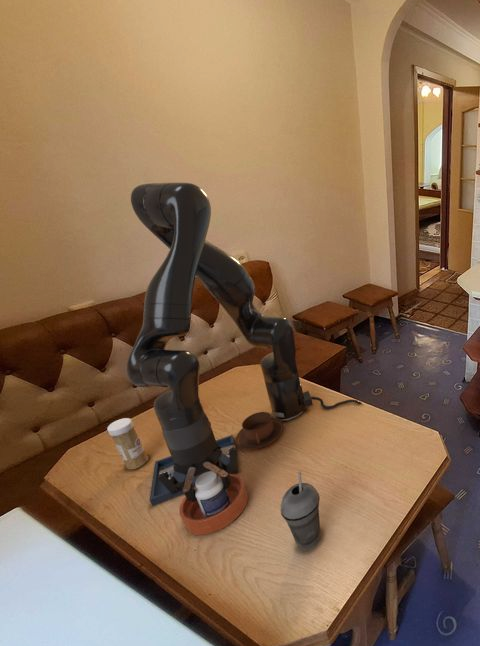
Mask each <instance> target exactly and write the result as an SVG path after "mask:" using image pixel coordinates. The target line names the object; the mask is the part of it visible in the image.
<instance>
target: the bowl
mask: <svg viewBox="0 0 480 646" xmlns="http://www.w3.org/2000/svg"><path fill="white" fill-rule="evenodd" d="M217 476H218V477H219V478H221V476H220V475H217ZM230 477H231V485H229V488H227V489H226V490H227V492H228V495H229V498H230V505H229V506H228V507H227V508H226V509H224V510H223V511H221V512H220V513H218V514H216V515H214V516H211V517H209V518H205V517H204V516H203V514H202V511H201V509H200V506H199V504H198V501H195V502H193V503H192V501H188V500H187V498H186V496H185V497H184V498H183V499H182V501H181V503H180V505H179V511H178V514H179V516H180V519H181V521H182V523H183V525H184V528H185V529H186V531H187V532H188V533H190V534H192V535H200V536H203V535H204V536H205V535H208V534H213V533H215V532H218V531H220V530H222V529H224V528H226V527H227V526H228V525H230V524H231V523H232V522H234V521H235V520H236V519H237V518H238V517H239V516H240V515H241V514H242V512H243V511H244V509H245V508H246V506H247V502H248V499H249V496H248V495H249V494H248V491H247V488H246V485H245V481H244V479H243V478H242V477H241V476H239V475H237V474H236V473H234V474H230ZM194 489H195V490H196V487H195V488H194Z"/></svg>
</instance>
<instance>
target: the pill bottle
mask: <svg viewBox="0 0 480 646" xmlns="http://www.w3.org/2000/svg"><path fill="white" fill-rule="evenodd" d="M195 485H196V490H195V496H196V499H197V501H198V504H199V506H200V509H201V511H202V514H203V516H204V517H205V518H209V517H211V516H214V515H216V514H218V513H220V512H221V511H223V510H224V509H226V508H227V507H228V506H229V505H230V498H229V495H228V492H227V490H226V489H225V488H224V485H223V482H222V479H221V478H219V477H218V476H217V474H215V473H214V472H212V471H209V472H206V473H204V474H202V475H200V476H199V477H198V478H197V479H196V481H195Z"/></svg>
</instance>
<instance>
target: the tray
mask: <svg viewBox="0 0 480 646" xmlns="http://www.w3.org/2000/svg"><path fill="white" fill-rule="evenodd" d="M215 440H216V442H217V445H218V446H220V447H221V448H224V447H228V446H229V445H230V444H231V443H235V439H234V435H233V434H231V435H227V436H225V437H222V438H219V439H215ZM219 459H220V460H221V461H222V462H223V463H224V464H225V465H227V464H229V463H230V457H227V456H226V455H225V454H222V455H221V457H220V458H219ZM173 465H174V461H173V458H172V456H171V455H170V456H167V457H164V458H161V459H158V460H156V461H154V467H153V473H152V482H151V488H150V493H149V494H150V495H149V502H150V504H151V506H152V507H154V506H156V505H159V504H161V503H165V502H166V501H168V500H171V499H174V498H176V497H179V496H181V495H185V494H184V492H182V491H180V492H178V493H177V494H171V493H170V492H169V490H168V489H167V488H166V487H165V486H164V485H163V484H162V483H161V482H160V481H159V480H158V477H159V470H160V469H161V468H163V467H165V468H169V467H171V466H173ZM238 471H239V470H238V468H237V469H236V470H235V471H231V472H230V473H229V474H237V473H238ZM205 473H206V472H205ZM202 474H204V473H202ZM202 474H200V475H202ZM200 475H198V476H195V477H194V476H193V480H192V484H193V487H194V488H195V487H196V485H195V481H196V479H197V478H198V477H199V476H200ZM217 475H219V474H218V473H217ZM173 476H174V477H175V478H176V479H177V481H178V482H183V481H184V477H185V475H184V474H181V473H178V472H175V471H174V475H173Z"/></svg>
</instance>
